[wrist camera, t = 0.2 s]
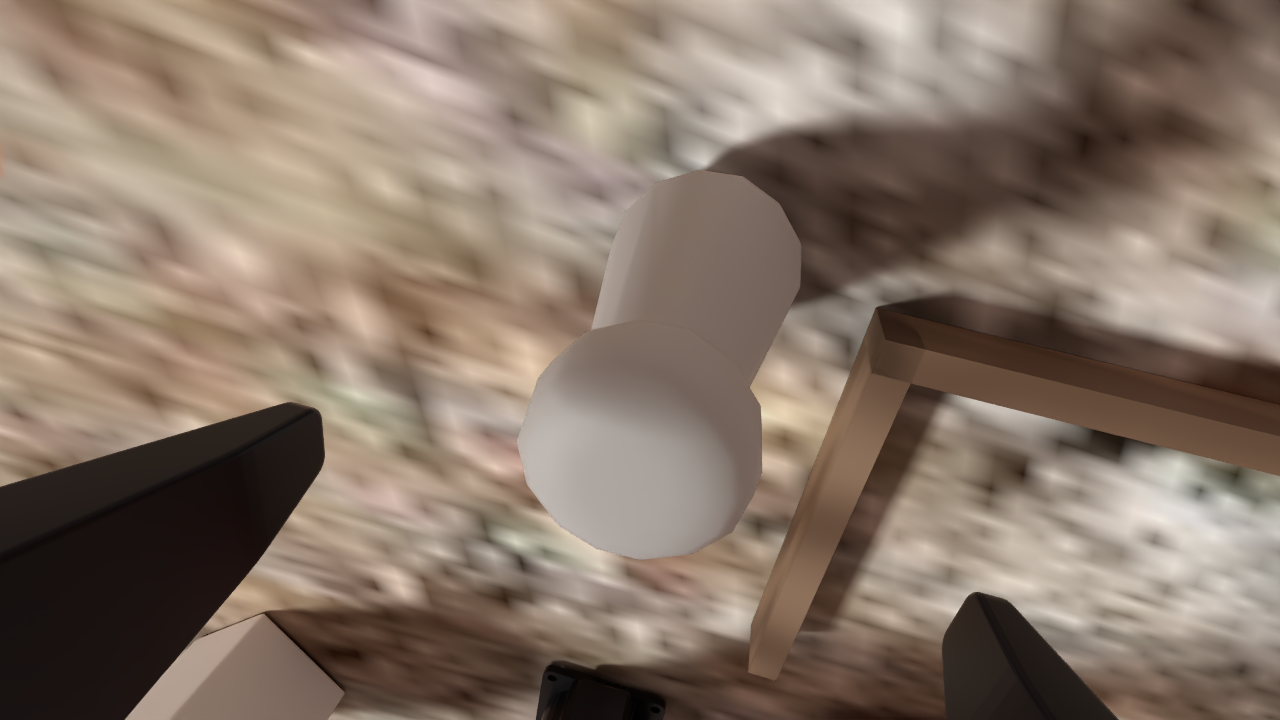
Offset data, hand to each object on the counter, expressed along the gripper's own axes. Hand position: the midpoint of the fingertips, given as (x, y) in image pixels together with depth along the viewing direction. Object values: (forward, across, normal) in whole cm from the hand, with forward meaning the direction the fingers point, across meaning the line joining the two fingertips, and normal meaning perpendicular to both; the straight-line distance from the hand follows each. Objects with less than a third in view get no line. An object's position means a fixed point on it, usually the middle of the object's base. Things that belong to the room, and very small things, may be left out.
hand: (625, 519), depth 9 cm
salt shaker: (+15, 0, +1) cm, 15 cm away
